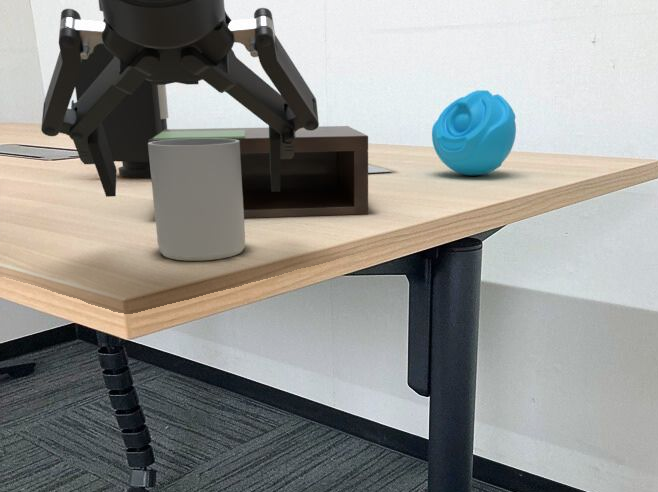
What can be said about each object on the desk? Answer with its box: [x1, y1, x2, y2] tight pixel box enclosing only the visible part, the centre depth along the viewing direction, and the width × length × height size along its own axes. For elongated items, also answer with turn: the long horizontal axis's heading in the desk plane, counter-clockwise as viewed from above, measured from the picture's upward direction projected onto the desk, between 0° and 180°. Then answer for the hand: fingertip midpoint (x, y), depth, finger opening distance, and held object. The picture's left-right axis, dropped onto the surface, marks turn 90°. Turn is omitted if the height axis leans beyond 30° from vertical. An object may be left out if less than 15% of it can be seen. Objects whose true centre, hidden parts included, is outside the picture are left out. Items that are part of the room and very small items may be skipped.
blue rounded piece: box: [431, 89, 517, 177], centre depth 106 cm, size 12×11×12 cm
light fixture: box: [74, 0, 169, 179], centre depth 107 cm, size 12×11×25 cm
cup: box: [148, 138, 246, 262], centre depth 62 cm, size 7×10×9 cm
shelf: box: [148, 125, 369, 219], centre depth 84 cm, size 22×16×8 cm
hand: (194, 181), depth 63 cm, fingers open, 13 cm apart
